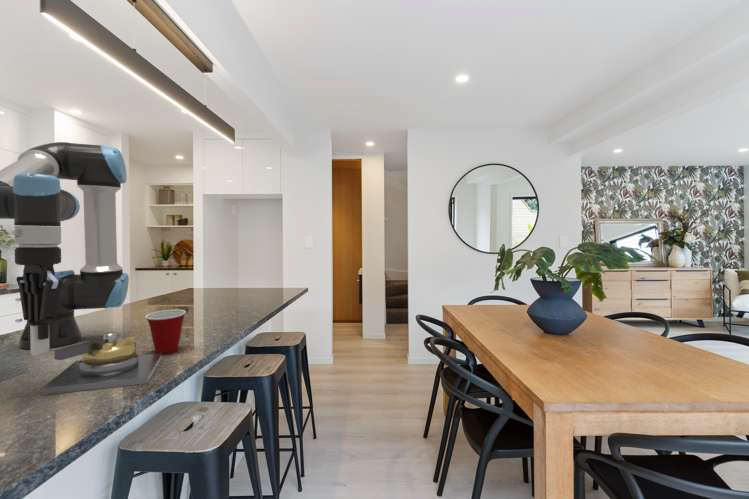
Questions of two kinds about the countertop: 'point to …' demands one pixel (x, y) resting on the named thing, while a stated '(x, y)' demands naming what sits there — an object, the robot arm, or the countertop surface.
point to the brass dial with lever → (101, 350)
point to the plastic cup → (166, 329)
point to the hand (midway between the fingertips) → (40, 353)
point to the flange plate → (102, 382)
